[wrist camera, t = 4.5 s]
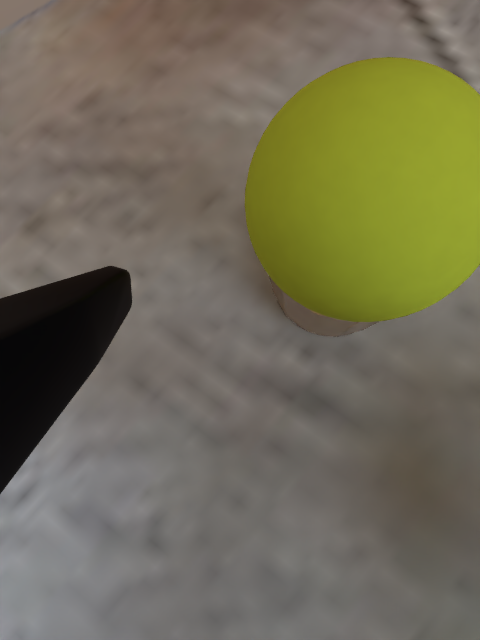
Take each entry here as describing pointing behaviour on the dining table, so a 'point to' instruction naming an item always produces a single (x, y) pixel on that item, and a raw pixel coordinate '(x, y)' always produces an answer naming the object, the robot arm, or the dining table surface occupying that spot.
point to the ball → (369, 190)
